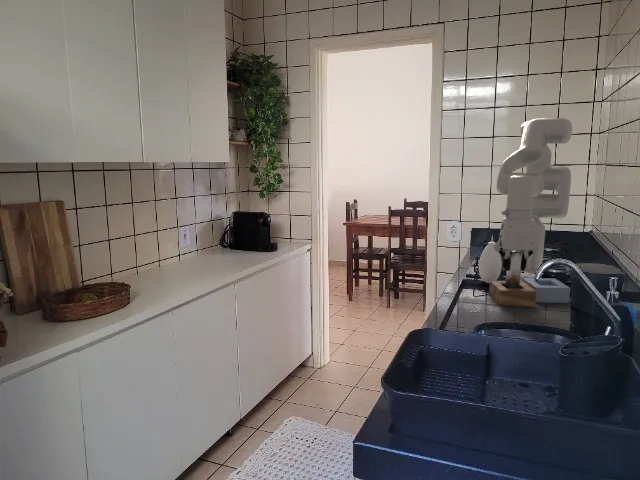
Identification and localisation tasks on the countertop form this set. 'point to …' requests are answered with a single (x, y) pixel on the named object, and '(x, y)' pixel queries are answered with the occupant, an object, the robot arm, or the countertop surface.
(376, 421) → the countertop surface
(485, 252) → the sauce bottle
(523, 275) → the mechanical component
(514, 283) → the steel pin
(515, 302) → the walnut mount
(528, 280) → the socket block
